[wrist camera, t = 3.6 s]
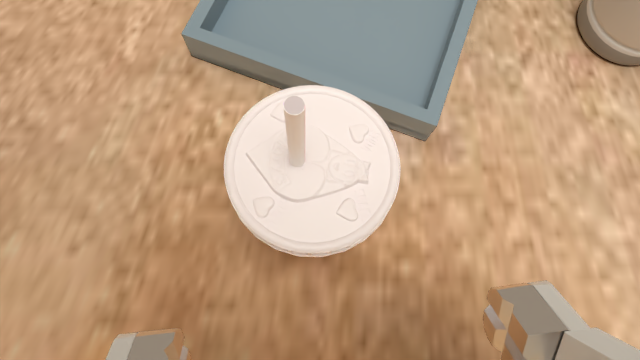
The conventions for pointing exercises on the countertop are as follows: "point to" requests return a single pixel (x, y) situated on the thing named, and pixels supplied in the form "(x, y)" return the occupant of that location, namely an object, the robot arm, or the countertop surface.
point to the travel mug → (612, 29)
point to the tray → (342, 49)
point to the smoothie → (312, 170)
